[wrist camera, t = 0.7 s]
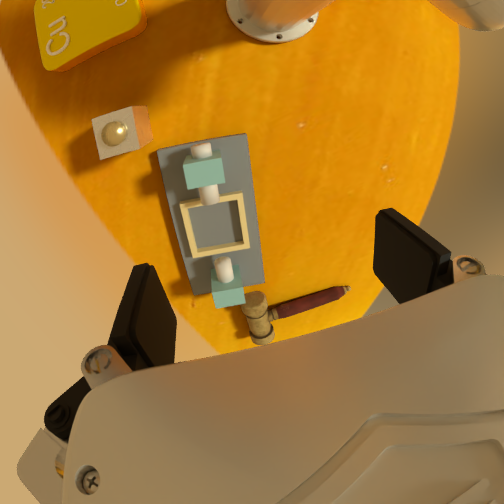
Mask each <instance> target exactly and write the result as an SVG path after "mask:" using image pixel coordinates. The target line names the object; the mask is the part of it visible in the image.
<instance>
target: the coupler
mask: <svg viewBox="0 0 504 504" xmlns="http://www.w3.org/2000/svg"><path fill="white" fill-rule="evenodd" d="M91 120H92V125H93V130H94V134H95V139H96V144H97V148H98V152H99V157H100V160H102V159H105V158H109V157H112V156H115V155H119V154H122V153H126V152H129V151H133V150H137V149H140V148H142V147H143V146H145V145H146V144H148V143H149V142H151V141H152V140H153V136H152V131H151V126H150V120H149V115H148V109H147V106H130V107H127V108H124V109H120V110H117V111H114V112H111V113H108V114H105V115H102V116H99V117H96V118H93V119H91Z"/></svg>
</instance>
